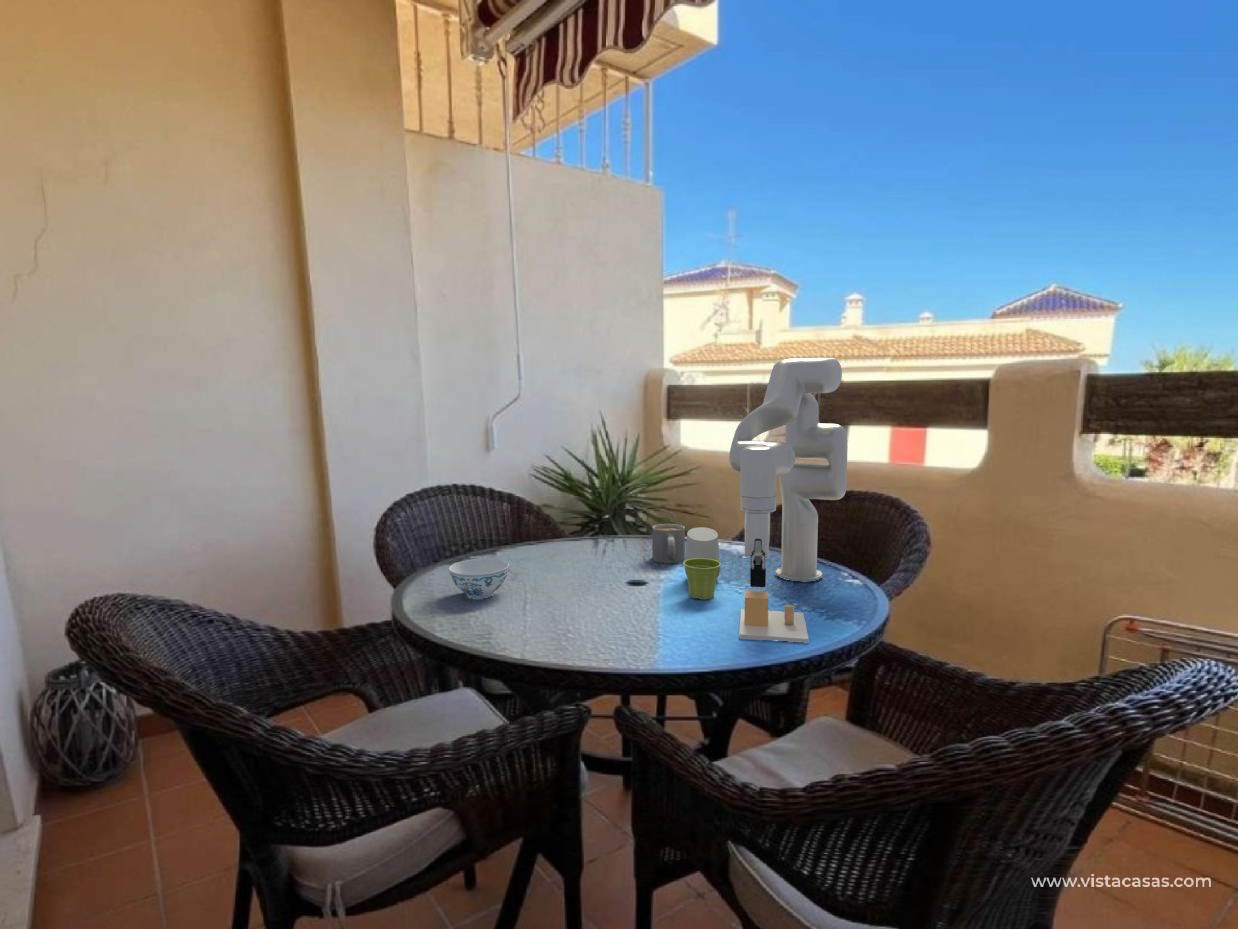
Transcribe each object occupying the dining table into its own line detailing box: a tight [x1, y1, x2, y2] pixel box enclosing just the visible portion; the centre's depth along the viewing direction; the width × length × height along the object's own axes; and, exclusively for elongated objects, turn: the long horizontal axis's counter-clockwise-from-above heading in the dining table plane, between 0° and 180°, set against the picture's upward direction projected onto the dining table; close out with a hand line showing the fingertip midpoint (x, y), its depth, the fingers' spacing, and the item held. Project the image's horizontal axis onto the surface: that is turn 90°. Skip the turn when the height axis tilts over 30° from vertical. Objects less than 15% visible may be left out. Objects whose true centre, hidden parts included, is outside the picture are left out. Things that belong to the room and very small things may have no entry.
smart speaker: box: [684, 526, 721, 580], centre depth 179 cm, size 10×9×14 cm
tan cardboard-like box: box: [744, 590, 769, 627], centre depth 144 cm, size 5×5×6 cm
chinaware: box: [448, 558, 510, 600], centre depth 168 cm, size 15×15×8 cm
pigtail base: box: [738, 604, 809, 643], centre depth 143 cm, size 16×14×5 cm
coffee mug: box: [651, 523, 686, 564], centre depth 200 cm, size 13×10×10 cm
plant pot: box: [682, 558, 722, 601], centre depth 165 cm, size 9×9×9 cm
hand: (757, 579), depth 144 cm, fingers open, 9 cm apart
